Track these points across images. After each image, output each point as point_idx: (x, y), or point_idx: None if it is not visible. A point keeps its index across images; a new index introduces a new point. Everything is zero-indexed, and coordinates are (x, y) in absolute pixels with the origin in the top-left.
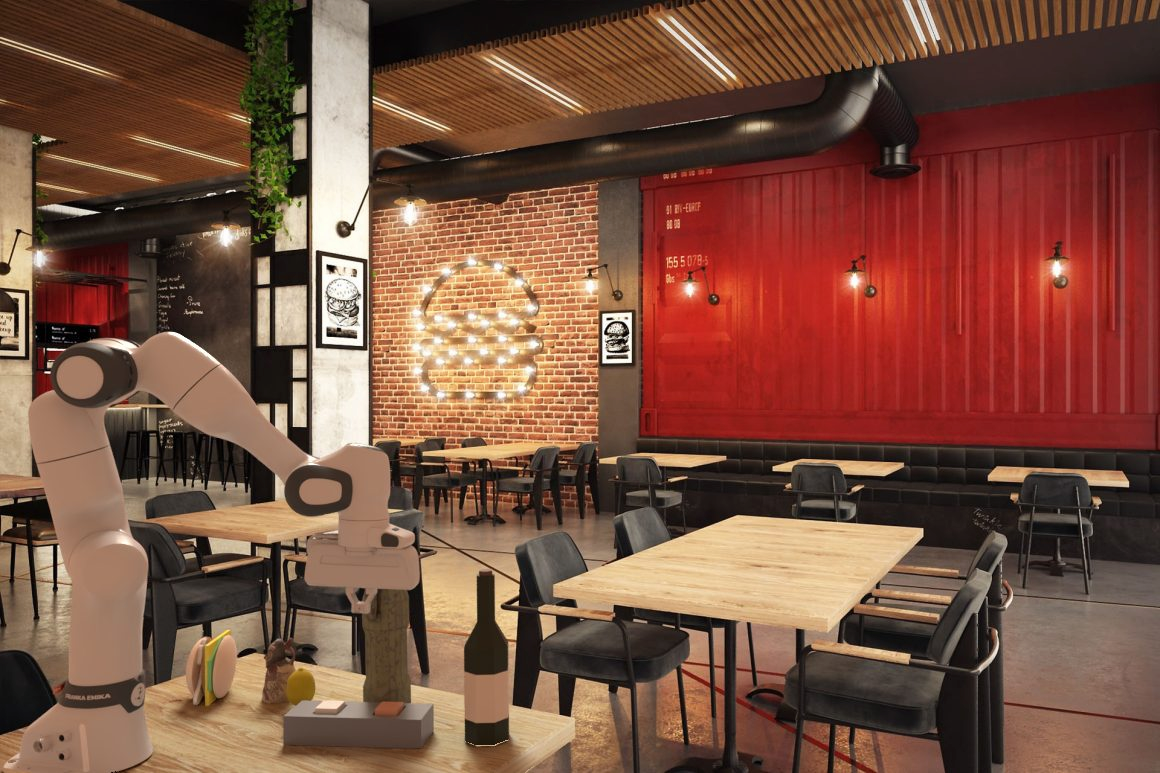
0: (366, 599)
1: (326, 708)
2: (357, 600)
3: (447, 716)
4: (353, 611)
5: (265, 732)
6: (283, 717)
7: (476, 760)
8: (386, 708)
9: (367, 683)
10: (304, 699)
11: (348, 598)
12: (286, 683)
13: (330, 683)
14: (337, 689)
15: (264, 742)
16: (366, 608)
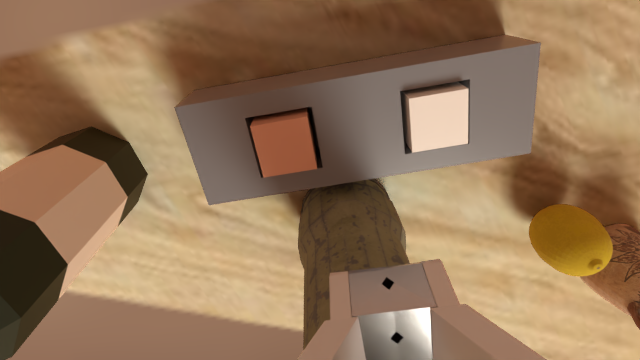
0: (338, 347)
1: (436, 94)
2: (439, 358)
3: (237, 244)
4: (426, 262)
5: (573, 88)
6: (538, 42)
7: (46, 63)
8: (281, 129)
9: (386, 224)
10: (542, 213)
11: (502, 329)
12: (611, 260)
13: (530, 324)
14: (506, 305)
15: (555, 35)
16: (335, 292)
